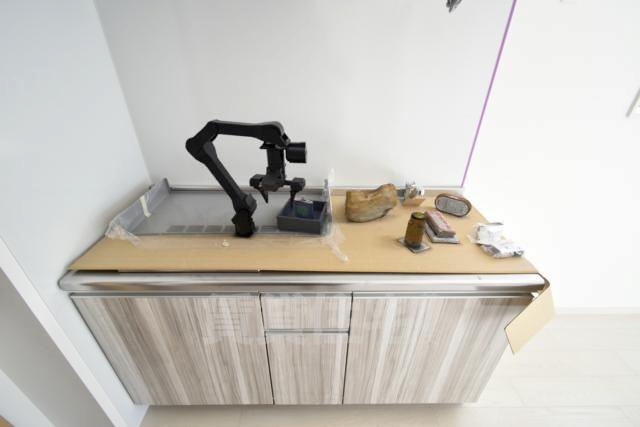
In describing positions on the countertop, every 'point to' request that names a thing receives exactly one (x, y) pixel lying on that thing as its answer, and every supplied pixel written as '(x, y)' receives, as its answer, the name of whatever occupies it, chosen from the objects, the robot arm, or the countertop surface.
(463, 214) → the tin
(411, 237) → the condiment
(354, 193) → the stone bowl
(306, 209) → the flask
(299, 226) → the bin
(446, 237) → the packaged product
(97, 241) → the countertop surface
